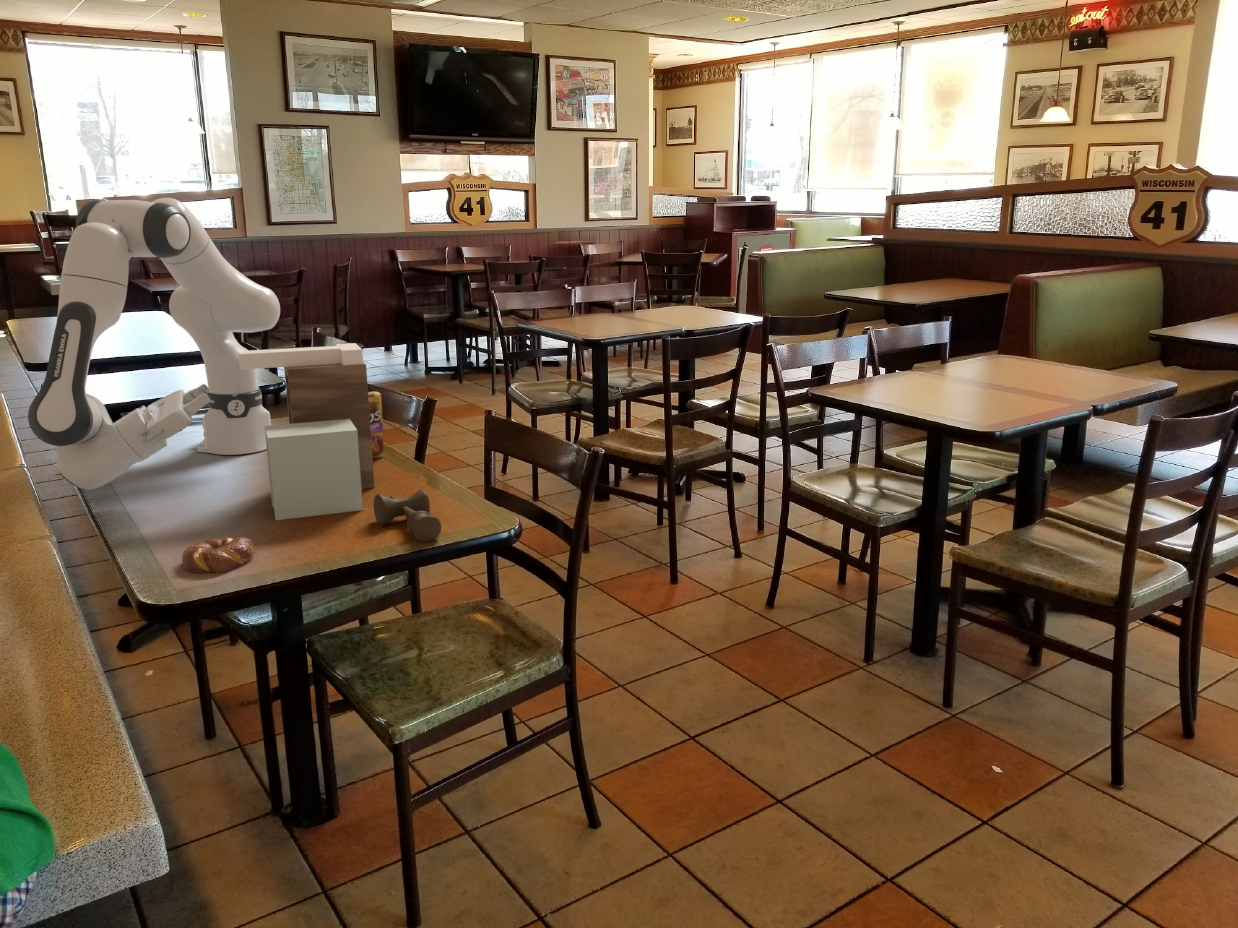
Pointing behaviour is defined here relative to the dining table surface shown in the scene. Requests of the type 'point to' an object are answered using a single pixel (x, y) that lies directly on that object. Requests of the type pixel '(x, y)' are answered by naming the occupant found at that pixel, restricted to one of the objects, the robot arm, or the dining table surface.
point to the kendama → (409, 514)
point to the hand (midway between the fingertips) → (207, 391)
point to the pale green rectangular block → (314, 468)
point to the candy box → (376, 424)
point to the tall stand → (333, 403)
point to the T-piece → (301, 356)
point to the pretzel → (218, 554)
